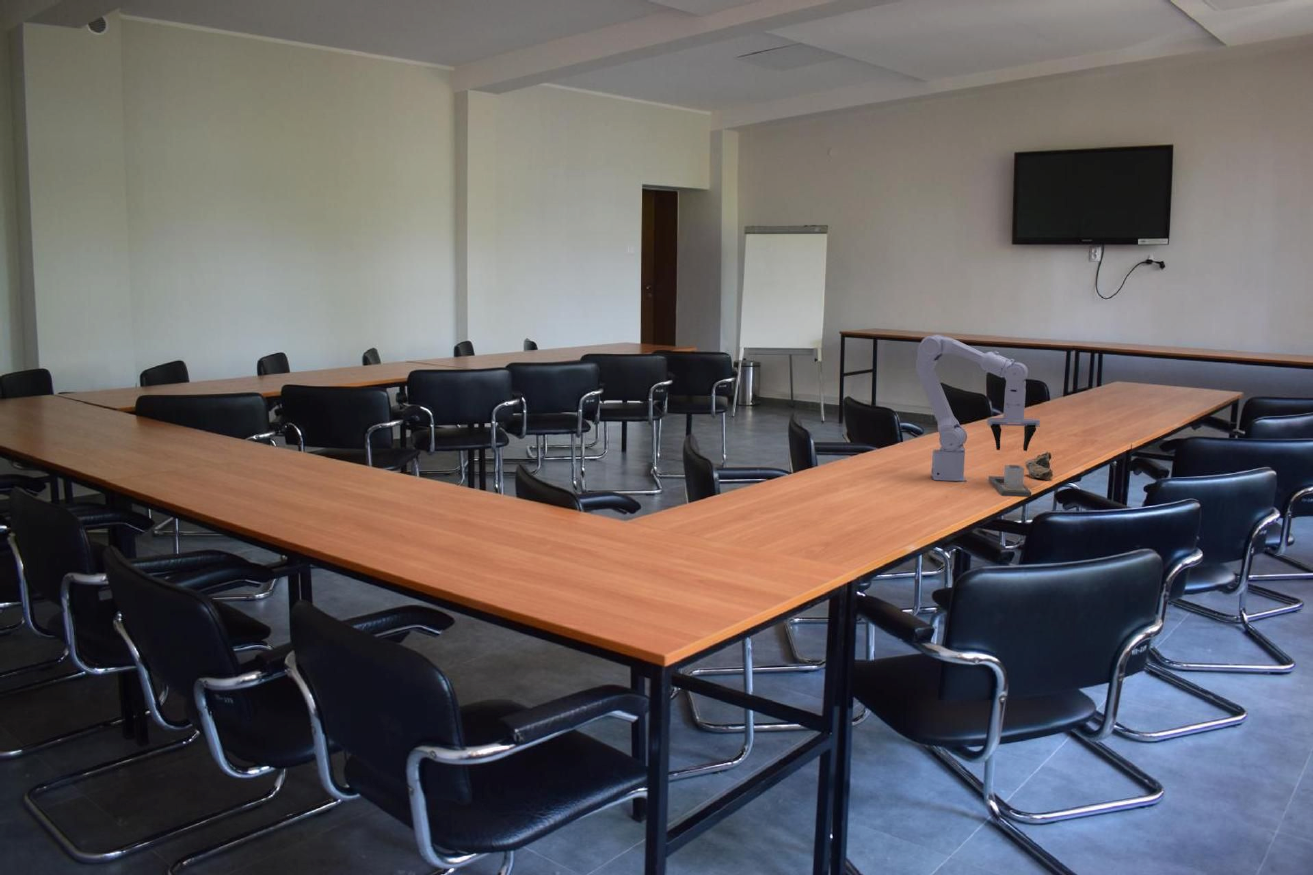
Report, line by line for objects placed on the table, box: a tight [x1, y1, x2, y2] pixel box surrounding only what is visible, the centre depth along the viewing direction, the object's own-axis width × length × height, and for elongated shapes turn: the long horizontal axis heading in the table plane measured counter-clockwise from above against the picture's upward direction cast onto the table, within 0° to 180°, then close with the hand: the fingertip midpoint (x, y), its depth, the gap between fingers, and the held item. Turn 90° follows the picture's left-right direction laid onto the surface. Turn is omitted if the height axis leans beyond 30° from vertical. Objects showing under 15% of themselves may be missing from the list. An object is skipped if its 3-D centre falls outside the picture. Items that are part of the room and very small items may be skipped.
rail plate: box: [988, 475, 1032, 498], centre depth 302 cm, size 8×22×1 cm, turn 172°
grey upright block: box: [1003, 464, 1025, 490], centre depth 296 cm, size 4×4×6 cm
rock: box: [1025, 451, 1054, 481], centre depth 318 cm, size 9×7×10 cm
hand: (1011, 450), depth 305 cm, fingers open, 7 cm apart
